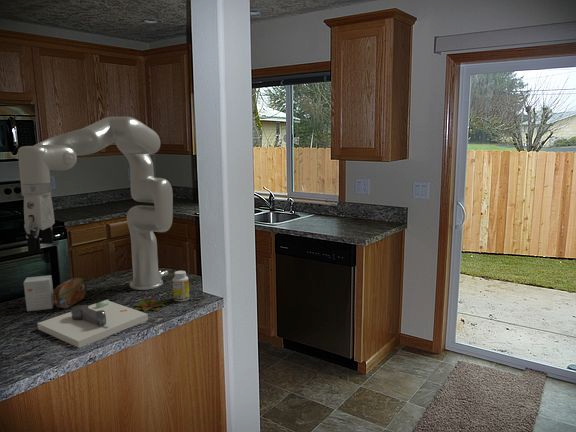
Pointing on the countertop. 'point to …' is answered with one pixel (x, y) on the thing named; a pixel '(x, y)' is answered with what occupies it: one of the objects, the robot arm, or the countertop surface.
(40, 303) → the small box
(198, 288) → the countertop surface
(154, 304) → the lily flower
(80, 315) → the grey knobbed bar
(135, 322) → the base
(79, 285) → the tin
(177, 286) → the supplement bottle
